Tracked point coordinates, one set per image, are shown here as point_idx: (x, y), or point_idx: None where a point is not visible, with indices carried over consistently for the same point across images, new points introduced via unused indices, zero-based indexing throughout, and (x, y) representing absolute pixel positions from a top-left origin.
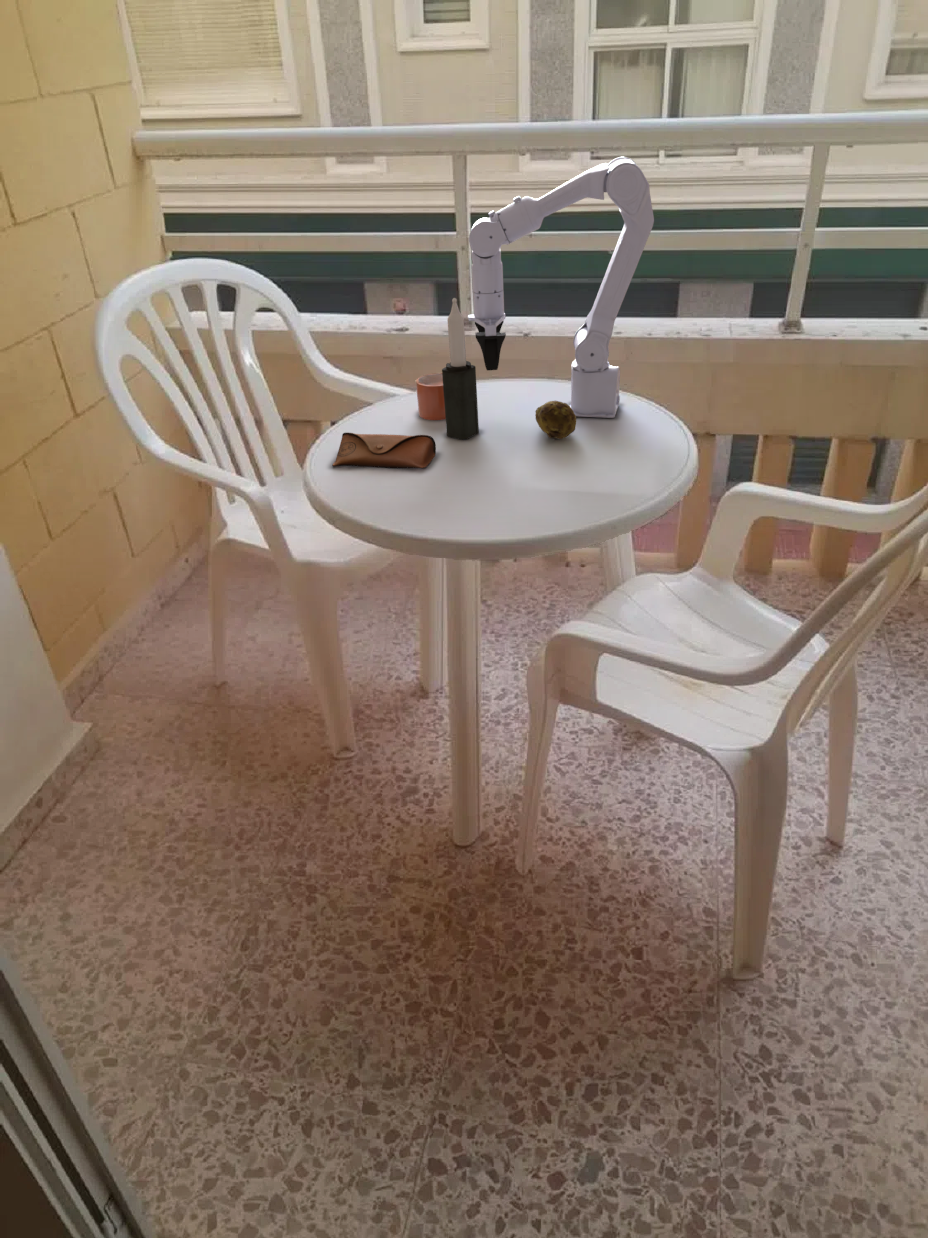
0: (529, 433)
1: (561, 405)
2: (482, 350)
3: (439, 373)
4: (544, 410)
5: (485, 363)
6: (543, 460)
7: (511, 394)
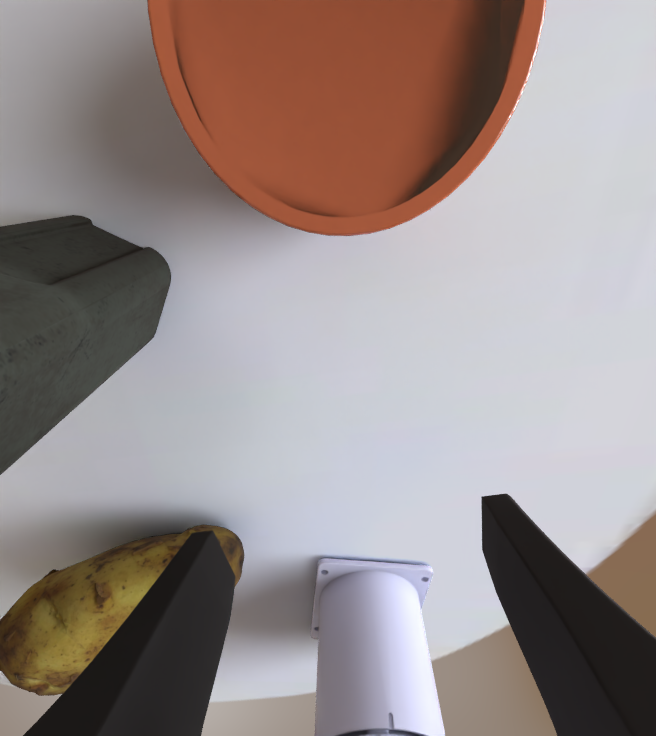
0: (178, 487)
1: (29, 691)
2: (40, 720)
3: (523, 27)
4: (2, 646)
5: (159, 578)
6: (11, 528)
7: (551, 403)
